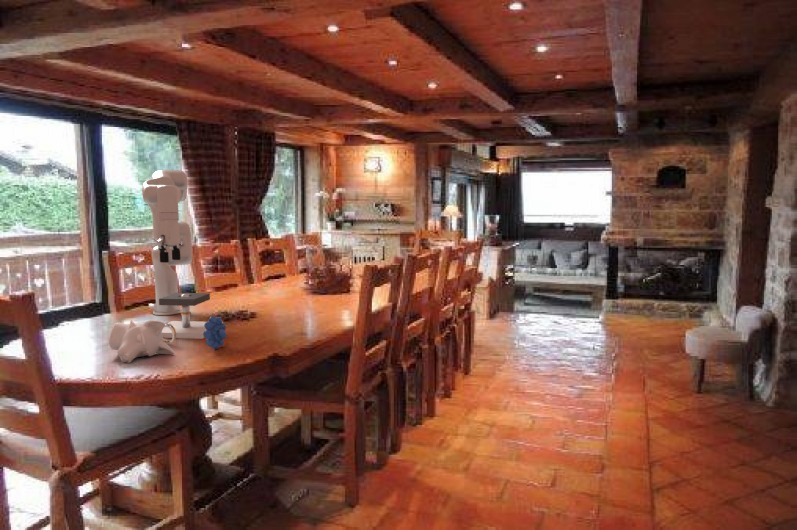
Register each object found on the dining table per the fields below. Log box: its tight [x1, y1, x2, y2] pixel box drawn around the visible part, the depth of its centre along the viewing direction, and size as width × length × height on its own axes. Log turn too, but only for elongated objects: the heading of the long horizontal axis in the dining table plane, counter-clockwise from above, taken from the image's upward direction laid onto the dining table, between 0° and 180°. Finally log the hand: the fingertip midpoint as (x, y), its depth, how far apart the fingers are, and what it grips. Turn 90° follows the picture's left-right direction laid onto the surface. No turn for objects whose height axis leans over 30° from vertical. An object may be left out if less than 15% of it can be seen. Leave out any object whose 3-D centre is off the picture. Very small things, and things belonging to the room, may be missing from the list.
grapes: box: [203, 316, 228, 350], centre depth 191 cm, size 12×7×12 cm, turn 163°
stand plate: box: [162, 320, 224, 340], centre depth 217 cm, size 22×20×2 cm
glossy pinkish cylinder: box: [180, 294, 191, 328], centre depth 216 cm, size 4×4×13 cm
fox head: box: [108, 318, 175, 364], centre depth 180 cm, size 14×17×20 cm
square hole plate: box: [159, 292, 211, 307], centre depth 216 cm, size 14×14×2 cm
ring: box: [161, 321, 177, 346], centre depth 198 cm, size 7×3×8 cm, turn 67°
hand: (170, 261), depth 214 cm, fingers open, 9 cm apart
